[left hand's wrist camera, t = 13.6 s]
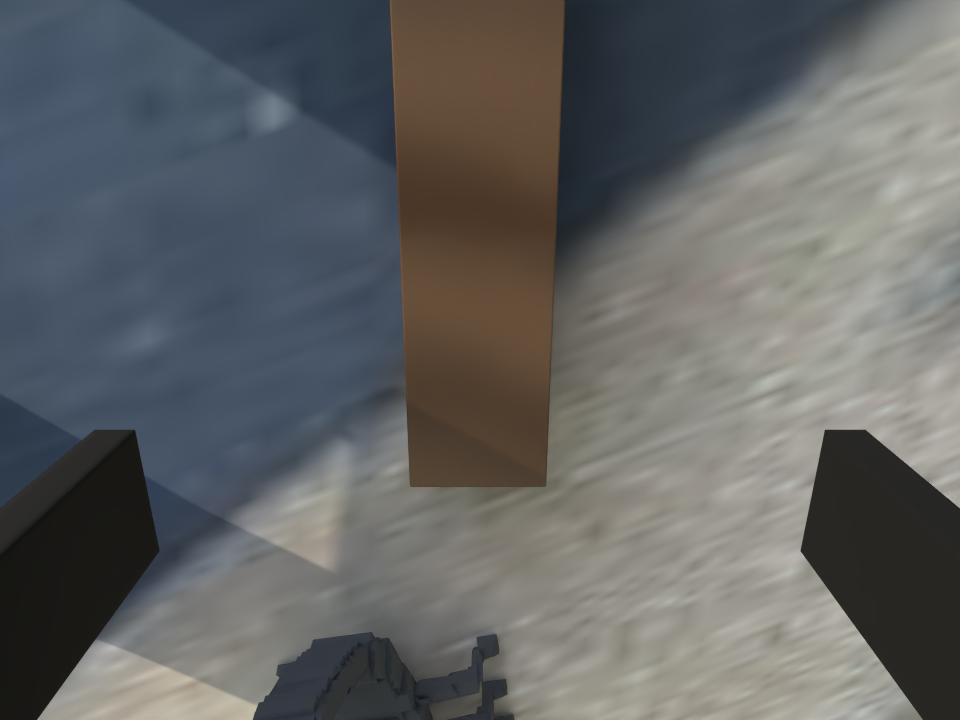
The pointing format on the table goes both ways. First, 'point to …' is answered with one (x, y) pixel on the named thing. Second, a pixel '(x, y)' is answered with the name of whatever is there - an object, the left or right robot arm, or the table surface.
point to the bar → (477, 233)
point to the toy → (372, 684)
